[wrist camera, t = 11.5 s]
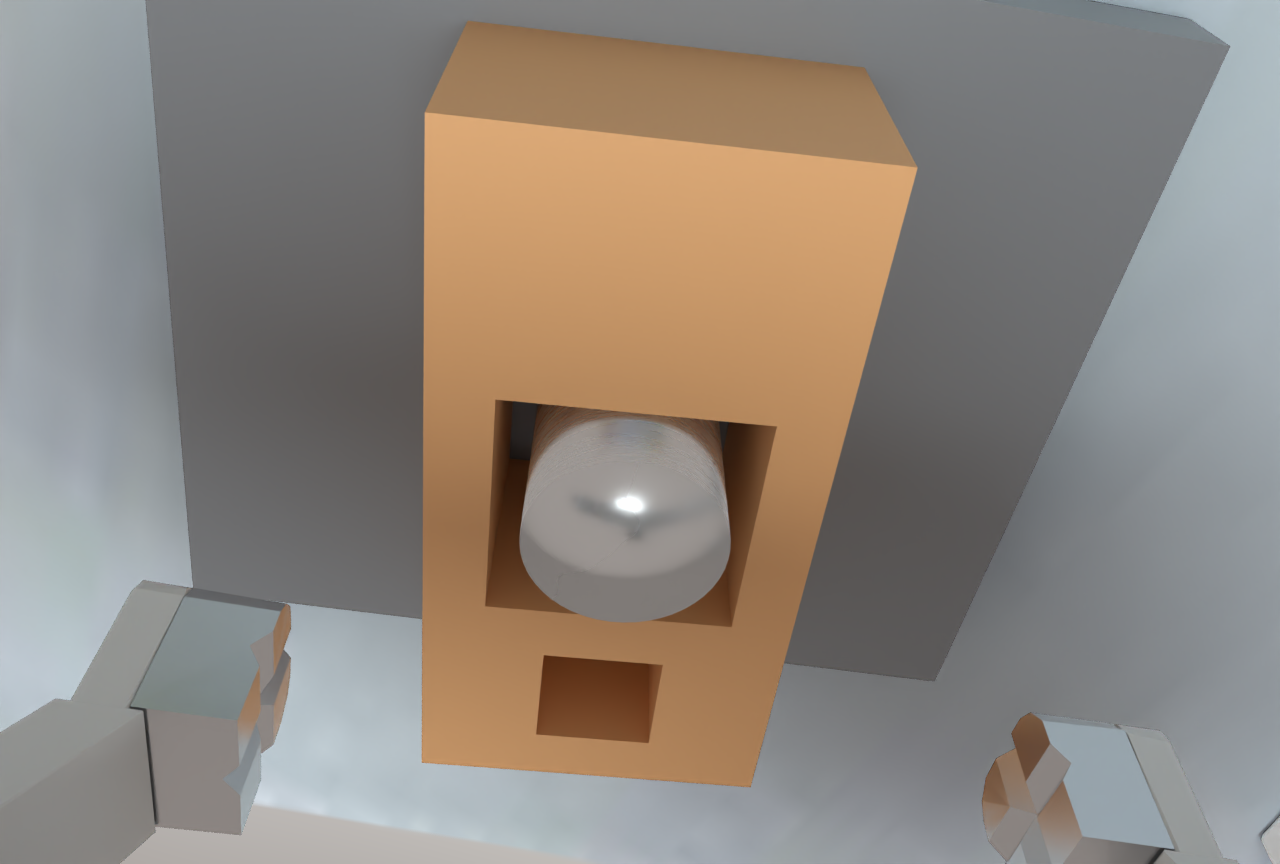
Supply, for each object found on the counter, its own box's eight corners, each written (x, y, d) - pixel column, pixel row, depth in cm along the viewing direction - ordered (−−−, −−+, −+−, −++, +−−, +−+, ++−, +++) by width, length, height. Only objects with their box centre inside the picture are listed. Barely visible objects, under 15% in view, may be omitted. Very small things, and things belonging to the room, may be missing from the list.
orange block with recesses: (468, 20, 17) (424, 112, 13) (864, 67, 17) (917, 167, 14) (452, 606, 23) (421, 762, 20) (735, 630, 24) (750, 787, 21)
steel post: (723, 262, 20) (751, 477, 15) (691, 397, 22) (707, 634, 17) (560, 236, 20) (531, 447, 15) (541, 375, 22) (508, 609, 17)
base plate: (1190, 18, 18) (1230, 46, 17) (920, 632, 26) (934, 681, 25) (170, -169, 16) (132, -155, 15) (215, 543, 24) (193, 591, 23)
